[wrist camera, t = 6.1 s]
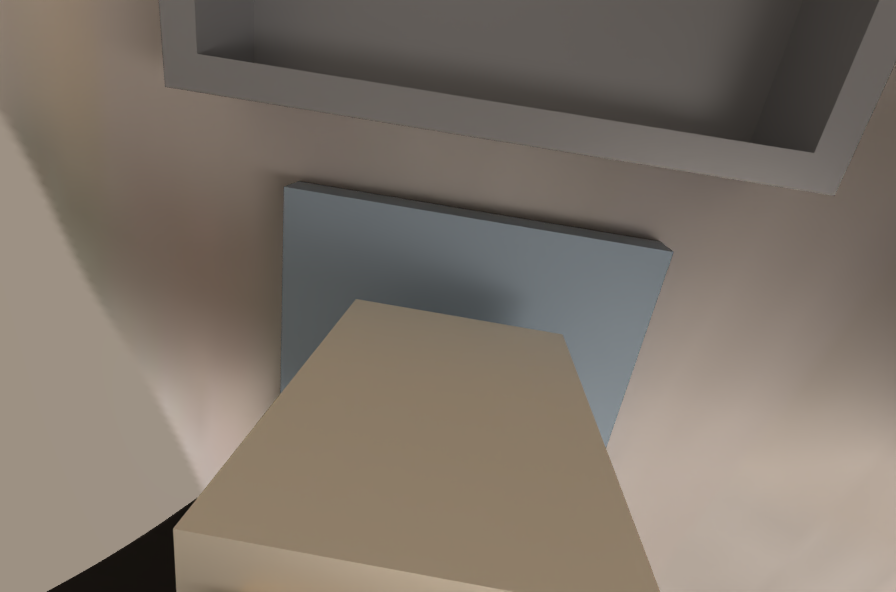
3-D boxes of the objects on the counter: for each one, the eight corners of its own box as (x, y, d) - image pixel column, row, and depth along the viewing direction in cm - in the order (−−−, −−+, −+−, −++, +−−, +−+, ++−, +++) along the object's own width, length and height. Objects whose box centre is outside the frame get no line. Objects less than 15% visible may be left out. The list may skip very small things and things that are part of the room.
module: (562, 334, 11) (682, 652, 4) (520, 500, 13) (558, 922, 6) (355, 298, 11) (152, 554, 4) (340, 468, 13) (174, 844, 6)
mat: (660, 241, 13) (673, 252, 12) (570, 515, 17) (574, 539, 16) (298, 181, 13) (283, 187, 12) (290, 464, 17) (278, 485, 16)
